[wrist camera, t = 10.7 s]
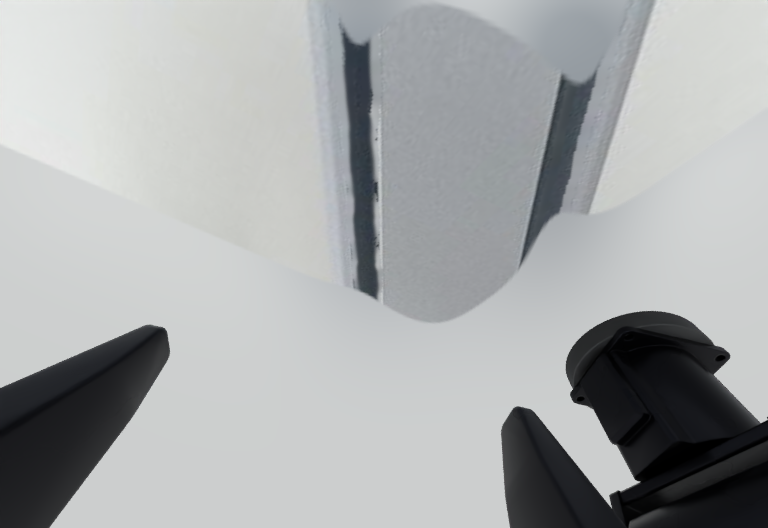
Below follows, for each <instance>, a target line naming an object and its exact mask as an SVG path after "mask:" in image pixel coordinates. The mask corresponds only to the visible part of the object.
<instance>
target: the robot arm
mask: <svg viewBox="0 0 768 528" xmlns="http://www.w3.org/2000/svg"><path fill="white" fill-rule="evenodd" d="M626 335H627V336H626ZM169 354H170V348H169V342H168V335H167V331H166V330H165V328H163V327H158V326H153V325H145V326H142V327H141V328H138V329H136V330H133V331H131V332H129V333H126V334H124V335H122V336H119V337H117V338H115V339H113V340H110V341H108V342H106V343H103V344H101V345H99V346H96V347H94V348H92V349H90V350H87V351H85V352H83V353H80V354H78V355H76V356H74V357H71V358H69V359H67V360H64V361H62V362H59V363H57V364H55V365H53V366H50V367H48V368H46V369H43V370H41V371H39V372H37V373H34V374H32V375H30V376H27V377H25V378H23V379H20V380H18V381H16V382H14V383H11V384H9V385H6V386H4V387H2V388H0V528H49V527H50V526H51V525H52V523H53V522H54V521H55V519H56V518H57V516H58V515H59V514H60V513H61V511H62V510H63V509H64V507H65V506H66V505H67V503H68V502H69V501H70V499H71V498H72V496H73V495H74V494H75V493H76V491H77V490H78V489H79V487H80V486H81V485H82V484H83V482H84V481H85V479H86V478H87V477H88V476H89V474H90V473H91V471H92V470H93V469H94V467H95V466H96V465H97V464H98V462H99V461H100V460H101V458H102V457H103V456H104V454H105V453H106V452H107V450H108V449H109V448H110V446H111V445H112V444H113V442H114V441H115V440H116V438H117V437H118V436H119V435H120V433H121V432H122V431H123V429H124V428H125V426H126V425H127V424H128V422H129V421H130V420H131V418H132V417H133V415H134V414H135V412H136V410H137V409H138V408H139V406H140V404H141V403H142V401H143V399H144V398H145V396H146V395H147V393H148V391H149V390H150V388H151V386H152V385H153V383H154V381H155V380H156V378H157V377H158V375H159V373H160V372H161V370H162V368H163V367H164V365H165V364H166V362H167V360H168V358H169ZM729 359H730V354H729V353H728V352H727V351H726V350H725V349H724V348H722V347H718V346H714V345H709V344H705V343H701V342H696V341H692V340H688V339H683V338H679V337H674V336H670V335H666V334H661V333H657V332H653V331H648V330H644V329H640V328H635V327H631V326H625V327H622V328H620V329H618V330H617V331H616V333H615V334H614V335H613V337H612V338H611V339H610V341H609V342H608V343H607V345H606V346H605V347H604V349H603V350H602V351H601V353H600V354H599V355H598V357H597V358H596V359H595V361H594V362H593V363H592V365H591V366H590V367H589V369H588V370H587V371H586V373H585V374H584V375H583V377H582V378H581V379H580V381H579V382H578V383H577V385H576V386H575V387H574V389H573V390H572V391H571V393H570V396H571V398H572V400H573V402H574V403H577V404H581V405H586V406H590V407H593V409H594V411H595V413H596V415H597V417H598V419H599V421H600V423H601V425H602V427H603V428H604V430H605V432H606V434H607V436H608V438H609V440H610V442H611V443H612V444H614V445H617V446H618V448H619V450H620V452H621V454H622V456H623V458H624V460H625V461H626V463H627V465H628V467H629V469H630V471H631V473H632V475H633V477H634V479H635V480H637V481H640V483H638V484H636V485H634V486H632V487H630V488H627V489H625V490H623V491H616V492H614V493H612V494H610V495H609V496H610V501H611V505H612V508H611V507H610V506H609V505H608V503H607V502H606V501H605V500H604V498H603V497H602V496H601V495H600V493H599V492H598V491H597V490H596V488H595V487H594V486H593V485H592V483H590V481H589V480H588V478H587V477H586V476H585V475H584V473H583V472H582V471H581V470H580V468H579V467H578V466H577V465H576V463H575V462H574V461H573V460H572V459H571V457H570V456H569V455H568V454H567V452H566V451H565V450H564V449H563V447H562V446H561V445H560V444H559V442H558V441H557V440H556V439H555V437H554V436H553V435H552V434H551V432H550V431H549V430H548V429H547V428H546V426H545V425H544V424H543V422H542V421H541V420H540V419H539V417H538V416H537V415H536V414H535V413H534V412H533V411H532V410H531V409H527V408H523V407H515V408H513V410H512V411H511V413H510V414H509V416H508V418H507V419H506V421H505V422H504V424H503V426H502V430H501V437H502V452H503V453H502V454H503V470H504V485H505V497H506V504H507V511H508V517H509V523H510V528H768V420H767V421H765V422H763V423H760V422H759V421H758V420H757V419H756V418H755V417H754V416H753V415H752V414H751V413H750V412H749V411H748V410H747V409H746V408H745V407H744V406H743V405H742V404H741V403H740V402H739V401H738V400H737V399H736V397H734V395H733V394H732V393H730V391H729V390H728V389H727V388H726V387H725V386H724V385H723V384H722V383H721V382H720V381H719V380H718V379H717V378H716V377H715V376H714V375H713V374H714V373H715V372H717V371H718V370H719V369H720V368H721V366H723V365H724V364H725V363H726V362H727V361H728V360H729ZM767 418H768V417H767Z"/></svg>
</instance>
